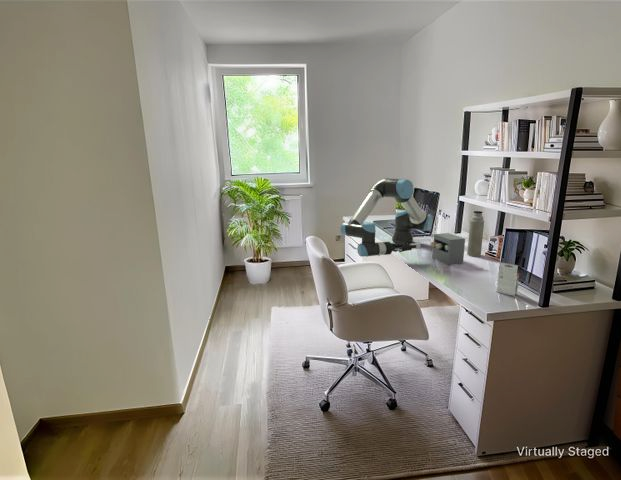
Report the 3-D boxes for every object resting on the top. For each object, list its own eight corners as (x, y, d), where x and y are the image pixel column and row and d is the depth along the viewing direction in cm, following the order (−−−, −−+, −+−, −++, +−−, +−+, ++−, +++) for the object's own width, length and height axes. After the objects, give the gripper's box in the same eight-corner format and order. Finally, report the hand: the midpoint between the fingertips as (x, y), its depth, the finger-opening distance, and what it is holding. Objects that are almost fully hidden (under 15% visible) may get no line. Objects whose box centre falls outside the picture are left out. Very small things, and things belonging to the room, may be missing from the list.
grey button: (435, 248, 221) (435, 243, 220) (442, 247, 222) (443, 242, 221) (438, 249, 218) (438, 244, 217) (445, 248, 219) (446, 243, 219)
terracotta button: (430, 246, 225) (430, 241, 225) (438, 245, 227) (438, 240, 226) (433, 247, 222) (433, 242, 222) (440, 246, 224) (441, 241, 223)
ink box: (498, 290, 175) (501, 260, 172) (517, 294, 170) (520, 263, 166) (496, 292, 172) (499, 262, 169) (514, 296, 167) (518, 265, 164)
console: (432, 257, 229) (434, 234, 226) (446, 256, 232) (448, 233, 228) (448, 265, 214) (450, 239, 211) (463, 263, 217) (465, 238, 213)
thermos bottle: (466, 253, 239) (470, 210, 233) (479, 253, 237) (483, 210, 231) (467, 256, 232) (472, 212, 225) (481, 257, 230) (486, 212, 223)
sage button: (444, 249, 217) (445, 244, 216) (452, 248, 218) (452, 244, 218) (447, 250, 214) (448, 245, 214) (455, 250, 216) (455, 245, 215)
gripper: (378, 251, 222) (413, 249, 228) (388, 257, 210) (425, 254, 216) (379, 239, 221) (414, 237, 227) (389, 244, 208) (426, 241, 214)
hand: (419, 245), depth 221 cm, fingers closed
